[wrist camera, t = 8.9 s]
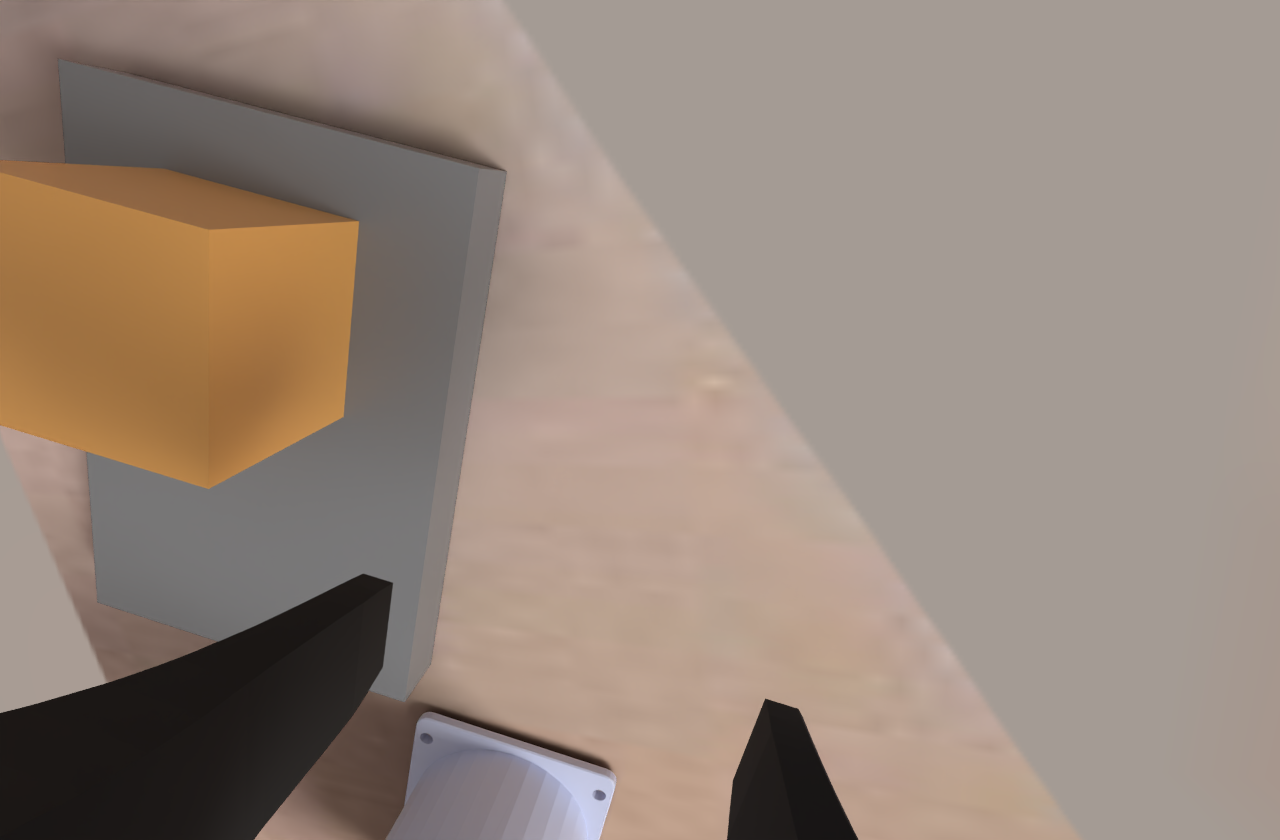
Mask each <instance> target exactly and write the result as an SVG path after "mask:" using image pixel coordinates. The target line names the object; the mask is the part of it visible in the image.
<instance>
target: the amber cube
mask: <svg viewBox="0 0 1280 840" xmlns="http://www.w3.org/2000/svg"><path fill="white" fill-rule="evenodd" d="M358 229H359V221H356V220H353V219H349V218H345V217H342V216H338V215H334V214H330V213H327V212H323V211H319V210H316V209H312V208H308V207H304V206H301V205H297V204H293V203H290V202H286V201H282V200H279V199H275V198H271V197H267V196H264V195H260V194H256V193H253V192H249V191H245V190H241V189H238V188H234V187H230V186H227V185H223V184H219V183H215V182H212V181H208V180H204V179H201V178H197V177H193V176H190V175H186V174H182V173H178V172H175V171H171V170H167V169H161V168H142V167H123V166H103V165H84V164H65V163H46V162H26V161H7V160H0V425H2V426H5V427H8V428H11V429H15V430H18V431H21V432H24V433H28V434H31V435H34V436H37V437H41V438H44V439H47V440H50V441H54V442H57V443H60V444H63V445H67V446H70V447H73V448H76V449H80V450H83V451H86V452H90V453H93V454H96V455H99V456H103V457H106V458H109V459H112V460H116V461H119V462H122V463H125V464H129V465H132V466H135V467H138V468H142V469H145V470H148V471H151V472H155V473H158V474H161V475H164V476H168V477H171V478H174V479H178V480H181V481H184V482H187V483H191V484H194V485H197V486H200V487H204V488H207V489H210V488H211V487H213V486H215V485H217V484H219V483H221V482H223V481H225V480H226V479H228V478H230V477H232V476H234V475H236V474H238V473H240V472H241V471H243V470H245V469H247V468H249V467H251V466H253V465H255V464H256V463H258V462H260V461H262V460H264V459H266V458H268V457H269V456H271V455H273V454H275V453H277V452H279V451H281V450H283V449H284V448H286V447H288V446H290V445H292V444H294V443H296V442H298V441H299V440H301V439H303V438H305V437H307V436H309V435H311V434H312V433H314V432H316V431H318V430H320V429H322V428H324V427H326V426H327V425H329V424H331V423H333V422H335V421H337V420H339V419H341V418H342V417H344V405H345V392H346V380H347V367H348V355H349V342H350V330H351V317H352V304H353V292H354V279H355V267H356V254H357V242H358Z"/></svg>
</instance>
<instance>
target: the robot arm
mask: <svg viewBox="0 0 1280 840" xmlns="http://www.w3.org/2000/svg"><path fill="white" fill-rule="evenodd" d="M392 589H393V582H389V581H386V580H383V579H380V578H377V577H373V576H370V575H367V574H364V573H363V574H361V575H359V576H357V577H354V578H352V579H350V580H348V581H346V582H344V583H342V584H340V585H338V586H336V587H334V588H332V589H330V590H328V591H326V592H324V593H322V594H320V595H318V596H316V597H314V598H312V599H310V600H308V601H306V602H304V603H302V604H300V605H298V606H296V607H293V608H291V609H289V610H287V611H285V612H283V613H281V614H279V615H277V616H275V617H273V618H270V619H268V620H266V621H264V622H262V623H260V624H258V625H256V626H253V627H251V628H249V629H246V630H244V631H242V632H239V633H237V634H235V635H232V636H230V637H228V638H226V639H223V640H221V641H219V642H216V643H214V644H212V645H209V646H207V647H205V648H202V649H200V650H198V651H195V652H193V653H190V654H188V655H185V656H183V657H180V658H177V659H175V660H172V661H169V662H167V663H164V664H161V665H159V666H156V667H153V668H150V669H147V670H144V671H142V672H139V673H136V674H133V675H130V676H127V677H124V678H121V679H118V680H115V681H112V682H109V683H106V684H103V685H100V686H96V687H92V688H89V689H86V690H82V691H79V692H76V693H72V694H69V695H66V696H62V697H58V698H55V699H51V700H48V701H45V702H41V703H38V704H34V705H31V706H27V707H23V708H19V709H15V710H11V711H7V712H3V713H0V840H254V839H255V837H256V836H257V835H258V833H259V832H260V831H261V829H262V828H263V827H264V825H265V824H266V823H267V822H268V821H269V819H270V818H271V817H272V816H273V814H274V813H275V812H276V811H277V809H278V808H279V807H280V806H281V804H282V803H283V802H284V801H285V799H286V798H287V797H288V796H289V795H290V793H291V792H292V791H293V790H294V788H295V787H296V786H297V785H298V783H299V782H300V781H301V780H302V778H303V777H304V776H305V775H306V774H307V772H308V771H309V770H310V769H311V767H312V766H313V765H314V764H315V762H316V761H317V760H318V759H319V757H320V756H321V755H322V754H323V753H324V751H325V750H326V749H327V747H328V746H329V745H330V744H331V742H332V741H333V740H334V739H335V737H336V736H337V735H338V734H339V732H340V731H341V730H342V729H343V727H344V726H345V725H346V724H347V722H348V721H349V720H350V718H351V717H352V716H353V714H354V713H355V711H356V710H357V708H358V707H359V705H360V703H361V702H362V700H363V699H364V697H365V696H366V694H367V693H368V691H369V689H370V688H371V686H372V684H373V683H374V681H375V679H376V678H377V676H378V675H379V673H380V671H381V670H382V668H383V663H384V654H385V646H386V638H387V630H388V621H389V613H390V605H391V597H392ZM428 734H429V735H428ZM430 735H431V736H430ZM615 786H616V776H615V774H614V773H613V772H612V771H610V770H608V769H606V768H603V767H600V766H597V765H594V764H591V763H588V762H584V761H581V760H578V759H575V758H572V757H569V756H566V755H563V754H560V753H557V752H554V751H551V750H548V749H545V748H541V747H538V746H535V745H532V744H529V743H526V742H523V741H520V740H517V739H514V738H511V737H508V736H505V735H502V734H498V733H495V732H492V731H489V730H486V729H483V728H480V727H477V726H474V725H471V724H468V723H465V722H462V721H459V720H455V719H452V718H449V717H446V716H443V715H440V714H437V713H434V712H425V713H423V714H422V715H421V717H420V718H419V720H418V722H417V724H416V730H415V737H414V744H413V750H412V757H411V763H410V770H409V777H408V783H407V790H406V797H405V803H404V808H403V809H402V811H401V813H400V815H399V816H398V818H397V820H396V822H395V823H394V825H393V827H392V829H391V830H390V832H389V834H388V836H387V837H386V839H385V840H599V838H600V835H601V832H602V829H603V825H604V822H605V819H606V816H607V812H608V809H609V806H610V803H611V799H612V796H613V793H614V790H615ZM598 790H601V791H603V792H601V791H598ZM727 840H858V838H857V836H856V834H855V832H854V830H853V828H852V826H851V824H850V822H849V820H848V818H847V816H846V814H845V812H844V809H843V807H842V805H841V803H840V801H839V799H838V797H837V795H836V793H835V791H834V788H833V786H832V784H831V782H830V780H829V778H828V775H827V773H826V771H825V768H824V766H823V764H822V762H821V759H820V757H819V755H818V752H817V750H816V748H815V745H814V743H813V741H812V738H811V736H810V734H809V731H808V729H807V726H806V724H805V722H804V719H803V717H802V715H801V713H800V711H799V709H797V708H793V707H790V706H787V705H784V704H781V703H777V702H774V701H771V700H768V699H765V701H764V703H763V706H762V708H761V711H760V713H759V716H758V718H757V721H756V724H755V726H754V729H753V731H752V734H751V736H750V739H749V741H748V744H747V746H746V749H745V751H744V754H743V756H742V759H741V761H740V764H739V767H738V769H737V772H736V774H735V777H734V779H733V786H732V795H731V805H730V814H729V825H728V836H727Z"/></svg>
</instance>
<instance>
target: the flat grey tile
mask: <svg viewBox="0 0 1280 840" xmlns="http://www.w3.org/2000/svg"><path fill="white" fill-rule="evenodd" d="M58 68H59V81H60V95H61V109H62V123H63V136H64V150H65V164H84V165H103V166H123V167H142V168H161V169H167V170H171V171H175V172H178V173H182V174H186V175H190V176H193V177H197V178H201V179H204V180H208V181H212V182H215V183H219V184H223V185H227V186H230V187H234V188H238V189H241V190H245V191H249V192H253V193H256V194H260V195H264V196H267V197H271V198H275V199H279V200H282V201H286V202H290V203H293V204H297V205H301V206H304V207H308V208H312V209H316V210H319V211H323V212H327V213H330V214H334V215H338V216H342V217H345V218H349V219H353V220H356V221H359V229H358V242H357V254H356V267H355V279H354V292H353V304H352V317H351V330H350V342H349V355H348V367H347V380H346V392H345V405H344V417H342V418H341V419H339V420H337V421H335V422H333V423H331V424H329V425H327V426H326V427H324V428H322V429H320V430H318V431H316V432H314V433H312V434H311V435H309V436H307V437H305V438H303V439H301V440H299V441H298V442H296V443H294V444H292V445H290V446H288V447H286V448H284V449H283V450H281V451H279V452H277V453H275V454H273V455H271V456H269V457H268V458H266V459H264V460H262V461H260V462H258V463H256V464H255V465H253V466H251V467H249V468H247V469H245V470H243V471H241V472H240V473H238V474H236V475H234V476H232V477H230V478H228V479H226V480H225V481H223V482H221V483H219V484H217V485H215V486H213V487H211V488H210V489H207V488H204V487H200V486H197V485H194V484H191V483H187V482H184V481H181V480H178V479H174V478H171V477H168V476H164V475H161V474H158V473H155V472H151V471H148V470H145V469H142V468H138V467H135V466H132V465H129V464H125V463H122V462H119V461H116V460H112V459H109V458H106V457H103V456H99V455H96V454H93V453H90V452H87V465H88V479H89V493H90V506H91V520H92V534H93V548H94V561H95V575H96V589H97V602H98V603H101V604H104V605H107V606H110V607H113V608H116V609H119V610H122V611H126V612H129V613H132V614H135V615H138V616H141V617H144V618H147V619H150V620H153V621H156V622H159V623H162V624H165V625H169V626H172V627H175V628H178V629H181V630H184V631H187V632H190V633H193V634H196V635H199V636H202V637H205V638H209V639H212V640H215V641H218V642H219V641H221V640H223V639H226V638H228V637H230V636H232V635H235V634H237V633H239V632H242V631H244V630H246V629H249V628H251V627H253V626H256V625H258V624H260V623H262V622H264V621H266V620H268V619H270V618H273V617H275V616H277V615H279V614H281V613H283V612H285V611H287V610H289V609H291V608H293V607H296V606H298V605H300V604H302V603H304V602H306V601H308V600H310V599H312V598H314V597H316V596H318V595H320V594H322V593H324V592H326V591H328V590H330V589H332V588H334V587H336V586H338V585H340V584H342V583H344V582H346V581H348V580H350V579H352V578H354V577H357V576H359V575H361V574H363V573H364V574H367V575H370V576H373V577H377V578H380V579H383V580H386V581H389V582H393V589H392V597H391V605H390V613H389V621H388V630H387V638H386V646H385V654H384V663H383V668H382V670H381V671H380V673H379V675H378V676H377V678H376V679H375V681H374V683H373V684H372V686H371V688H370V689H369V691H371V692H374V693H378V694H381V695H384V696H387V697H390V698H393V699H396V700H399V701H402V702H405V701H406V699H407V698H408V697H409V695H410V694H411V692H412V691H413V689H414V688H415V686H416V685H417V683H418V682H419V681H420V679H421V678H422V676H423V675H424V673H425V672H426V670H427V669H428V668H429V666H430V665H431V660H432V653H433V647H434V640H435V634H436V627H437V621H438V614H439V608H440V601H441V595H442V588H443V582H444V575H445V569H446V562H447V556H448V549H449V543H450V536H451V530H452V523H453V517H454V510H455V504H456V498H457V491H458V485H459V478H460V472H461V465H462V459H463V452H464V446H465V439H466V433H467V426H468V420H469V413H470V407H471V400H472V394H473V387H474V381H475V374H476V368H477V361H478V355H479V349H480V342H481V336H482V329H483V323H484V316H485V310H486V303H487V297H488V290H489V284H490V277H491V271H492V264H493V258H494V251H495V245H496V238H497V232H498V225H499V219H500V212H501V206H502V199H503V193H504V187H505V180H506V174H507V171H503V170H499V169H495V168H491V167H488V166H484V165H480V164H476V163H472V162H468V161H464V160H461V159H457V158H453V157H449V156H445V155H441V154H438V153H434V152H430V151H426V150H422V149H418V148H414V147H411V146H407V145H403V144H399V143H395V142H391V141H387V140H384V139H380V138H376V137H372V136H368V135H364V134H361V133H357V132H353V131H349V130H345V129H341V128H337V127H334V126H330V125H326V124H322V123H318V122H314V121H311V120H307V119H303V118H299V117H295V116H291V115H287V114H284V113H280V112H276V111H272V110H268V109H264V108H261V107H257V106H253V105H249V104H245V103H241V102H237V101H234V100H230V99H226V98H222V97H218V96H214V95H210V94H207V93H203V92H199V91H195V90H191V89H187V88H184V87H180V86H176V85H172V84H168V83H164V82H160V81H157V80H153V79H149V78H145V77H141V76H137V75H134V74H130V73H126V72H121V71H116V70H111V69H106V68H101V67H96V66H91V65H87V64H82V63H77V62H72V61H67V60H62V59H58Z"/></svg>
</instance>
